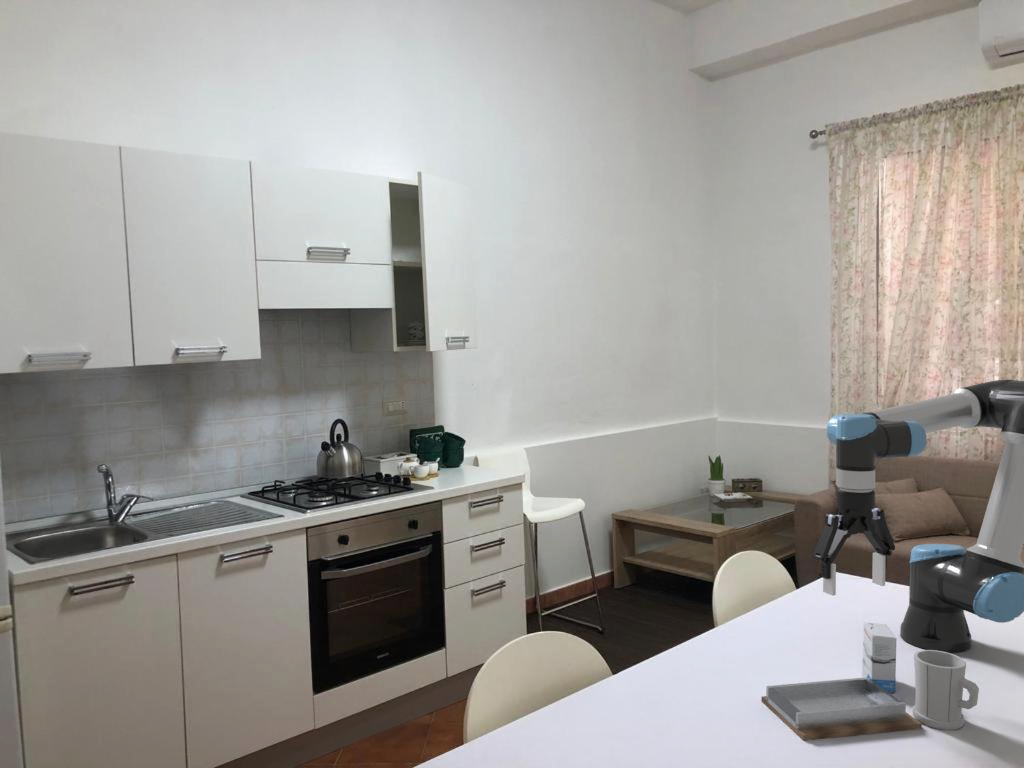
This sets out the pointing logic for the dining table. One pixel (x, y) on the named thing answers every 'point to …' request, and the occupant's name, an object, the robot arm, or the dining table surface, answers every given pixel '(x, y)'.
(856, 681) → the metal serving tray
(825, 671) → the dining table surface
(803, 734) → the panel
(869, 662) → the ink box
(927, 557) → the robot arm
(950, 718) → the cup
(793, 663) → the dining table surface
